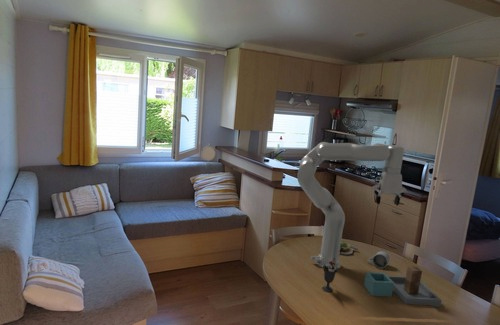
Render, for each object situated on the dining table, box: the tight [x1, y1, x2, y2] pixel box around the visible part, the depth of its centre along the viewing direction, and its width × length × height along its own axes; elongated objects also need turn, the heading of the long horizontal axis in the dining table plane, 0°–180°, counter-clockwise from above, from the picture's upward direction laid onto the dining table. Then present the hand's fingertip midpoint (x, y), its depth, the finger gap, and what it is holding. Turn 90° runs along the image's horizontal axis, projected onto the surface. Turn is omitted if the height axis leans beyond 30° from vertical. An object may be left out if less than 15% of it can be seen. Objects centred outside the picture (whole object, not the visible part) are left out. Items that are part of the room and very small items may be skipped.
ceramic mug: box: [367, 250, 390, 269], centre depth 188 cm, size 11×8×8 cm
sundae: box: [321, 258, 339, 293], centre depth 157 cm, size 7×7×15 cm
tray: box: [387, 275, 442, 308], centre depth 160 cm, size 16×20×4 cm
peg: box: [404, 265, 423, 295], centre depth 159 cm, size 4×4×12 cm
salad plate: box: [339, 241, 359, 256], centre depth 205 cm, size 19×18×5 cm
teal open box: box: [363, 271, 394, 297], centre depth 158 cm, size 9×9×8 cm
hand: (387, 204), depth 174 cm, fingers open, 9 cm apart
